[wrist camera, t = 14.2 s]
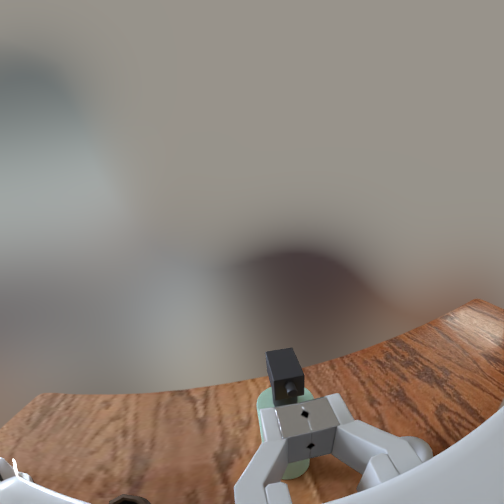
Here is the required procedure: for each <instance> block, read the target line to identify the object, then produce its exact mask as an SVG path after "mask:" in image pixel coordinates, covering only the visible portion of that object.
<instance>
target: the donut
mask: <svg viewBox="0 0 504 504" xmlns="http://www.w3.org/2000/svg"><path fill="white" fill-rule="evenodd" d="M399 438H402V439H405V440H407V441H408V442H409V443H410V445H411V446H412V448H413V449H414V450H415V452H416V453H417V455H418V456H419V458H420V459H421V461H422V462H423V463H424V462H426V461H428V460H430V459H431V458H433V453H432V449H431V448H430V446H429V445H428V444H427V443H426V442H425V441H424V440H422V439H419V438H417V437H410V436H405V437H399Z"/></svg>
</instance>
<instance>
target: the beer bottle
mask: <svg viewBox="0 0 504 504" xmlns="http://www.w3.org/2000/svg"><path fill="white" fill-rule="evenodd" d="M109 504H151V503H150V502H149V501H148V500H147V499H145V498H142V497H138V496H132V495H126V494H122V495H120V496H119V497H117V498H115V499H113V500H111V501H109Z"/></svg>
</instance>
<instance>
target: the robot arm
mask: <svg viewBox="0 0 504 504" xmlns="http://www.w3.org/2000/svg"><path fill="white" fill-rule="evenodd" d="M260 416H261V424H262V431H263V438H264V442H262V444H261V445H260V447H259V449H258V450H257V452H256V453H255V455H254V457H253V458H252V460H251V462H250V463H249V465H248V466H247V468H246V469H245V471H244V472H243V474H242V476H241V477H240V479H239V480H238V482H237V483H236V484H235V486H234V496H235V504H292V501H291V497H290V494H289V490H288V486H287V484H285V483H283V482H280V481H281V479H282V477H283V474H284V472H285V470H286V468H287V465H288V463H293V462H297V461H302V460H306V459H309V458H314V457H318V456H323V455H327V454H331V453H332V455H333V456H335V457H336V458H338V459H339V460H341V461H342V462H344V463H345V464H347V465H348V466H350V467H351V468H353V469H354V470H356V471H358V472H359V473H361V474H362V475H363V476H362V478H361V480H360V482H359V484H358V486H357V488H356V489H357V492H358V493H355V494H352V495H349V496H346V497H343V498H340V499H337V500H334V501H330V502H327V503H323V504H504V406H503V407H502V408H501V409H499V410H498V411H497V412H496V413H495V414H494V415H493V416H491V417H490V418H489V419H488V420H486V421H485V422H484V423H483V424H481V425H480V426H479V427H478V428H476V429H475V430H474V431H472V432H471V433H470V434H468V435H467V436H465V437H464V438H463V439H461V440H460V441H458V442H457V443H455V444H454V445H452V446H451V447H449V448H448V449H446V450H445V451H443V452H441V453H440V454H438V455H436V456H435V457H433V458H431V459H430V460H428V461H426V462H424V463H423V462H422V461H421V459H420V458H419V456H418V455H417V453H416V452H415V450H414V449H413V448H412V446H411V445H410V443H409V442H408V441H407V440H405V439H402V438H399V437H397V436H395V435H392V434H390V433H387V432H385V431H383V430H380V429H378V428H376V427H373V426H371V425H369V424H367V423H364V422H362V421H360V420H356V421H355V420H354V418H353V417H352V415H351V413H350V412H349V410H348V408H347V406H346V405H345V403H344V401H343V399H342V398H341V396H340V394H338V393H336V394H332V395H329V396H325V397H320V398H316V399H312V400H308V401H304V402H300V403H295V404H289V405H283V406H277V407H274V408H273V407H271V408H264V409H260ZM13 466H14V468H13V467H12V466H11V465H10V464H9V463H8V462H7V461H6V460H5V459H3V458H2V457H1V458H0V504H91V503H87V502H84V501H81V500H77V499H74V498H71V497H68V496H65V495H63V494H60V493H57V492H55V491H52V490H49V489H47V488H44V487H42V486H40V485H37V484H35V483H33V480H32V478H31V477H30V476H29V475H28V474H26V473H22V472H18V471H17V467H16V461H15V460H14V459H13Z"/></svg>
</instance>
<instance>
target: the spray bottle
mask: <svg viewBox="0 0 504 504" xmlns="http://www.w3.org/2000/svg"><path fill="white" fill-rule="evenodd" d="M266 363H267V372H268V376H269V380H270V383H271V387H270V388H268V389H266V390H265V391H264V392H262V393H261V394H260V396H259V397H258V400H257V411H258V418H259V425H260V432H261V438H262V442H264V438H263V431H262V424H261V416H260V409H264V408H271V407H273V408H274V407H277V406H283V405H289V404H295V403H300V402H304V401H308V400H312V399H314V398H313V396H312V394H311V392H310V391H309V390H307V389H306V388H304V373H303V371H302V369H301V366H300V364H299V362H298V360H297V357H296V355H295V353H294V351H293V348H286V349H280V350H274V351H268V352H266ZM309 461H310V458H309V459H306V460H302V461H297V462H293V463H288V465H287V468H286V470H285V472H284V474H283V477H282V479H293V478H297V477H299V476H301V475H302V474H303V473H305V471H306V470H307V469H308V467H309Z"/></svg>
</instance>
